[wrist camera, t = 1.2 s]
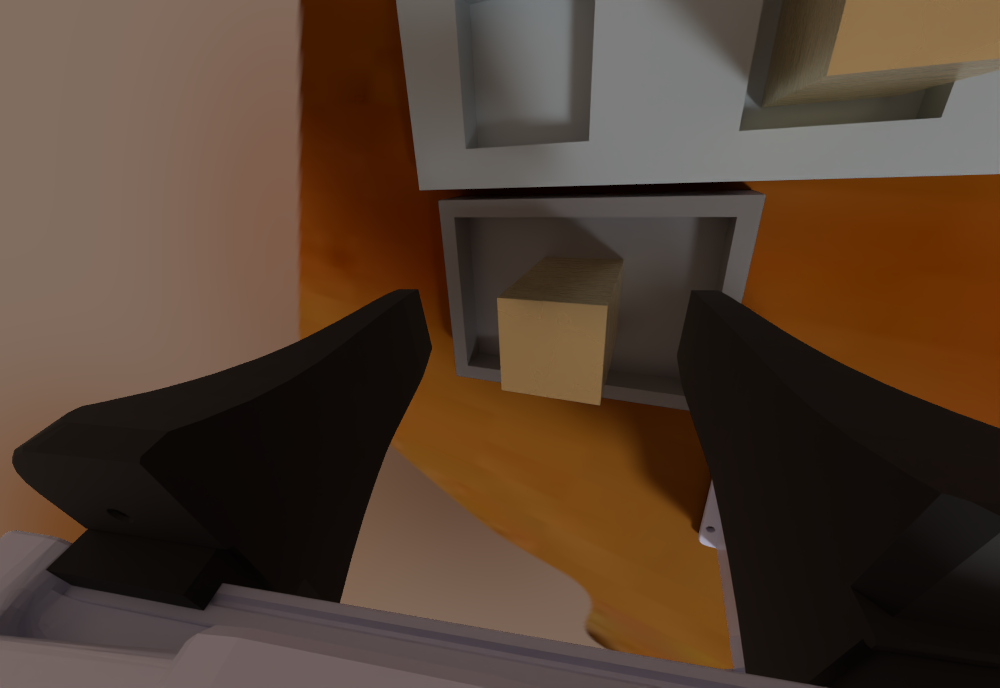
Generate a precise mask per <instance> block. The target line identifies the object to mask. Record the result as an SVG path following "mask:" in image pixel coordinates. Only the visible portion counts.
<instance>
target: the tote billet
mask: <svg viewBox="0 0 1000 688" xmlns="http://www.w3.org/2000/svg"><path fill="white" fill-rule="evenodd" d="M623 267H624V259H598V258H568V257H544V258H542V259H541V260H540V261H539V262H538V263H537V264H536V265H534V266H533V267H532V268H531V269H530V270H529V271H527V272H526V273H525V274H524V275H523V276H522V277H521V278H519V279H518V280H517V281H516V282H515V283H514V284H512V285H511V286H510V287H509V288H508V289H507V290H506V291H504V292H503V293H502V294H501V295H500V296H499V297H497V307H498V327H499V346H500V366H501V385H502V390H505V391H512V392H518V393H524V394H531V395H537V396H543V397H550V398H556V399H562V400H569V401H575V402H581V403H588V404H594V405H600V404H601V400H602V396H603V392H604V388H605V384H606V379H607V375H608V371H609V367H610V363H611V359H612V355H613V351H614V347H615V343H616V338H617V334H618V323H619V312H620V301H621V289H622V278H623Z"/></svg>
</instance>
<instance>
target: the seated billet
mask: <svg viewBox="0 0 1000 688" xmlns="http://www.w3.org/2000/svg"><path fill="white" fill-rule="evenodd" d="M998 70H1000V0H783V1H782V5H781V10H780V15H779V20H778V25H777V30H776V35H775V40H774V45H773V50H772V55H771V60H770V64H769V69H768V74H767V79H766V84H765V89H764V94H763V99H762V104H761V108H764V107H776V106H788V105H800V104H812V103H824V102H837V101H849V100H861V99H873V98H885V97H895V96H899V95H903V94H907V93H911V92H915V91H919V90H923V89H927V88H931V87H935V86H939V85H943V84H947V83H951V82H955V81H959V80H963V79H966V78H970V77H974V76H978V75H982V74H986V73H990V72H994V71H998Z"/></svg>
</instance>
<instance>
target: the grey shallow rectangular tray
mask: <svg viewBox="0 0 1000 688" xmlns="http://www.w3.org/2000/svg"><path fill="white" fill-rule="evenodd" d="M765 197H766V195H765V194H762V193H760V192H757V191H754V190H724V191H677V192H631V193H585V194H538V195H492V196H459V197H454V198H449V199H444V200H439V201H438V203H439V213H440V222H441V231H442V241H443V250H444V260H445V269H446V279H447V288H448V297H449V307H450V316H451V326H452V335H453V345H454V354H455V364H456V373H457V376H462V377H469V378H475V379H482V380H489V381H495V382H501V366H500V346H499V327H498V307H497V297H499V296H500V295H501V294H502V293H503V292H504V291H506V290H507V289H508V288H509V287H510V286H511V285H512V284H514V283H515V282H516V281H517V280H518V279H519V278H521V277H522V276H523V275H524V274H525V273H526V272H527V271H529V270H530V269H531V268H532V267H533V266H534V265H536V264H537V263H538V262H539V261H540V260H541V259H542V258H544V257H568V258H598V259H624V267H623V278H622V289H621V301H620V312H619V323H618V334H617V338H616V343H615V347H614V351H613V355H612V359H611V363H610V367H609V371H608V375H607V379H606V384H605V388H604V392H603V396H602V398H608V399H614V400H621V401H628V402H634V403H641V404H648V405H654V406H661V407H667V408H674V409H681V410H687V411H689V407H688V404H687V401H686V398H685V395H684V392H683V389H682V384H681V379H680V373H679V367H678V361H677V352H678V348H679V343H680V339H681V334H682V330H683V325H684V321H685V316H686V312H687V307H688V303H689V298H690V294H691V290H719V291H721V292H723V293H725V294H726V295H728V296H730V297H731V298H733V299H735V300H736V301H738V302H739V303H742V298H743V294H744V289H745V285H746V280H747V276H748V272H749V267H750V263H751V258H752V254H753V250H754V245H755V241H756V236H757V232H758V228H759V223H760V219H761V214H762V210H763V205H764V201H765Z"/></svg>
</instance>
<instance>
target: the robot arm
mask: <svg viewBox="0 0 1000 688" xmlns="http://www.w3.org/2000/svg"><path fill="white" fill-rule="evenodd" d="M431 350H432V345H431V341H430V337H429V333H428V329H427V324H426V320H425V316H424V312H423V308H422V303H421V299H420V295H419V291H418V289H398V290H396V291H393V292H391V293H388V294H386V295H384V296H382V297H381V298H379V299H377V300H375V301H373V302H371V303H370V304H368V305H366V306H364V307H362V308H361V309H359V310H357V311H355V312H353V313H352V314H350V315H348V316H346V317H345V318H343V319H341V320H339V321H337V322H335V323H333V324H331V325H330V326H328V327H326V328H324V329H322V330H320V331H318V332H316V333H314V334H312V335H310V336H308V337H306V338H304V339H302V340H300V341H298V342H296V343H294V344H291V345H289V346H287V347H285V348H282V349H280V350H277V351H275V352H273V353H270V354H268V355H266V356H263V357H260V358H258V359H255V360H252V361H249V362H246V363H243V364H241V365H238V366H235V367H232V368H229V369H226V370H224V371H221V372H218V373H215V374H212V375H208V376H205V377H201V378H198V379H195V380H192V381H188V382H184V383H181V384H177V385H173V386H170V387H166V388H162V389H159V390H154V391H151V392H146V393H141V394H137V395H133V396H128V397H123V398H119V399H114V400H110V401H105V402H101V403H96V404H91V405H86V406H82V407H79V408H77V409H75V410H73V411H71V412H69V413H67V414H66V415H64V416H63V417H61V418H60V419H58V420H57V421H55V422H54V423H52V424H51V425H50V426H48V427H47V428H45V429H44V430H42V431H41V432H40V433H38V434H37V435H35V436H34V437H32V438H31V439H30V440H28V441H27V442H25V443H24V444H22V445H21V446H20V447H18V448H17V449H15V450H14V453H13V457H12V463H13V465H14V468H15V470H16V472H17V473H18V474H19V475H20V476H21V477H22V479H23V480H24V481H25V482H26V483H27V484H28V485H30V486H31V487H32V488H33V489H35V490H36V491H37V492H38V493H39V494H41V495H42V496H43V497H45V498H46V499H47V500H49V501H50V502H52V503H53V504H54V505H56V506H57V507H58V508H60V509H61V510H62V511H63V512H65V513H66V514H68V515H69V516H70V517H72V518H73V519H74V520H76V521H77V522H78V523H80V524H81V525H83V526H84V527H85V528H87V529H88V530H87V531H85V533H83V534H82V535H81V536H80V537H79V538H78V539H77V540H76V541H75V542H74V543H73V544H72V543H70V542H68V541H65V540H63V539H61V538H57V537H53V536H47V535H41V534H35V533H29V532H23V531H17V530H16V531H11V532H7V533H6V534H4V535H3V536H2V537H1V538H0V688H1000V428H997V427H994V426H991V425H988V424H986V423H983V422H980V421H977V420H975V419H972V418H969V417H966V416H964V415H961V414H958V413H955V412H953V411H950V410H948V409H945V408H943V407H940V406H938V405H935V404H932V403H930V402H927V401H925V400H922V399H920V398H917V397H915V396H912V395H910V394H907V393H905V392H903V391H900V390H898V389H896V388H893V387H891V386H889V385H886V384H884V383H882V382H880V381H878V380H875V379H873V378H871V377H869V376H867V375H865V374H863V373H861V372H858V371H856V370H854V369H852V368H850V367H848V366H846V365H844V364H842V363H840V362H838V361H836V360H834V359H832V358H830V357H828V356H826V355H825V354H823V353H821V352H819V351H817V350H816V349H814V348H812V347H810V346H809V345H807V344H805V343H803V342H801V341H800V340H798V339H796V338H795V337H793V336H791V335H790V334H788V333H786V332H785V331H783V330H781V329H780V328H778V327H777V326H775V325H773V324H772V323H770V322H769V321H767V320H766V319H764V318H762V317H761V316H759V315H758V314H756V313H755V312H753V311H752V310H750V309H749V308H747V307H746V306H744V305H742V304H741V303H739V302H738V301H736V300H735V299H733V298H731V297H730V296H728V295H726V294H725V293H723V292H721V291H719V290H691V294H690V298H689V303H688V307H687V312H686V316H685V321H684V325H683V330H682V334H681V339H680V343H679V348H678V352H677V361H678V367H679V373H680V379H681V384H682V389H683V392H684V395H685V398H686V401H687V404H688V407H689V411H690V414H691V417H692V419H693V422H694V425H695V428H696V431H697V434H698V437H699V440H700V443H701V446H702V449H703V452H704V455H705V458H706V461H707V464H708V467H709V471H710V474H711V478H712V480H711V484H710V489H709V493H708V497H707V501H706V505H705V509H704V513H703V518H702V522H701V526H700V530H699V541H700V542H701V543H702V544H703V545H706V546H710V547H714V548H717V553H718V561H719V568H720V575H721V582H722V589H723V596H724V603H725V610H726V617H727V624H728V631H729V637H730V638H729V639H730V646H731V654H732V661H733V668H734V669H724V670H723V669H717V668H711V667H705V666H700V665H694V664H688V663H682V662H676V661H671V660H665V659H659V658H653V657H648V656H642V655H636V654H630V653H624V652H619V651H613V650H607V649H601V648H595V647H590V646H584V645H578V644H572V643H566V642H561V641H555V640H549V639H543V638H537V637H531V636H526V635H520V634H514V633H508V632H503V631H497V630H491V629H485V628H480V627H474V626H467V625H462V624H457V623H450V622H444V621H439V620H433V619H427V618H422V617H416V616H410V615H404V614H398V613H393V612H387V611H381V610H376V609H370V608H364V607H358V606H352V605H347V604H341V603H340V600H341V596H342V593H343V589H344V585H345V581H346V577H347V573H348V570H349V565H350V562H351V558H352V554H353V551H354V548H355V544H356V541H357V538H358V534H359V531H360V527H361V524H362V520H363V517H364V514H365V511H366V508H367V505H368V502H369V499H370V496H371V493H372V490H373V487H374V484H375V481H376V479H377V476H378V473H379V470H380V468H381V465H382V462H383V460H384V457H385V454H386V452H387V449H388V447H389V445H390V442H391V440H392V438H393V436H394V434H395V432H396V430H397V428H398V426H399V424H400V422H401V420H402V418H403V416H404V414H405V412H406V410H407V408H408V406H409V404H410V402H411V400H412V398H413V396H414V394H415V392H416V390H417V388H418V386H419V384H420V382H421V379H422V377H423V375H424V372H425V369H426V366H427V363H428V360H429V356H430V353H431ZM708 526H712V528H711V527H708Z"/></svg>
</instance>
